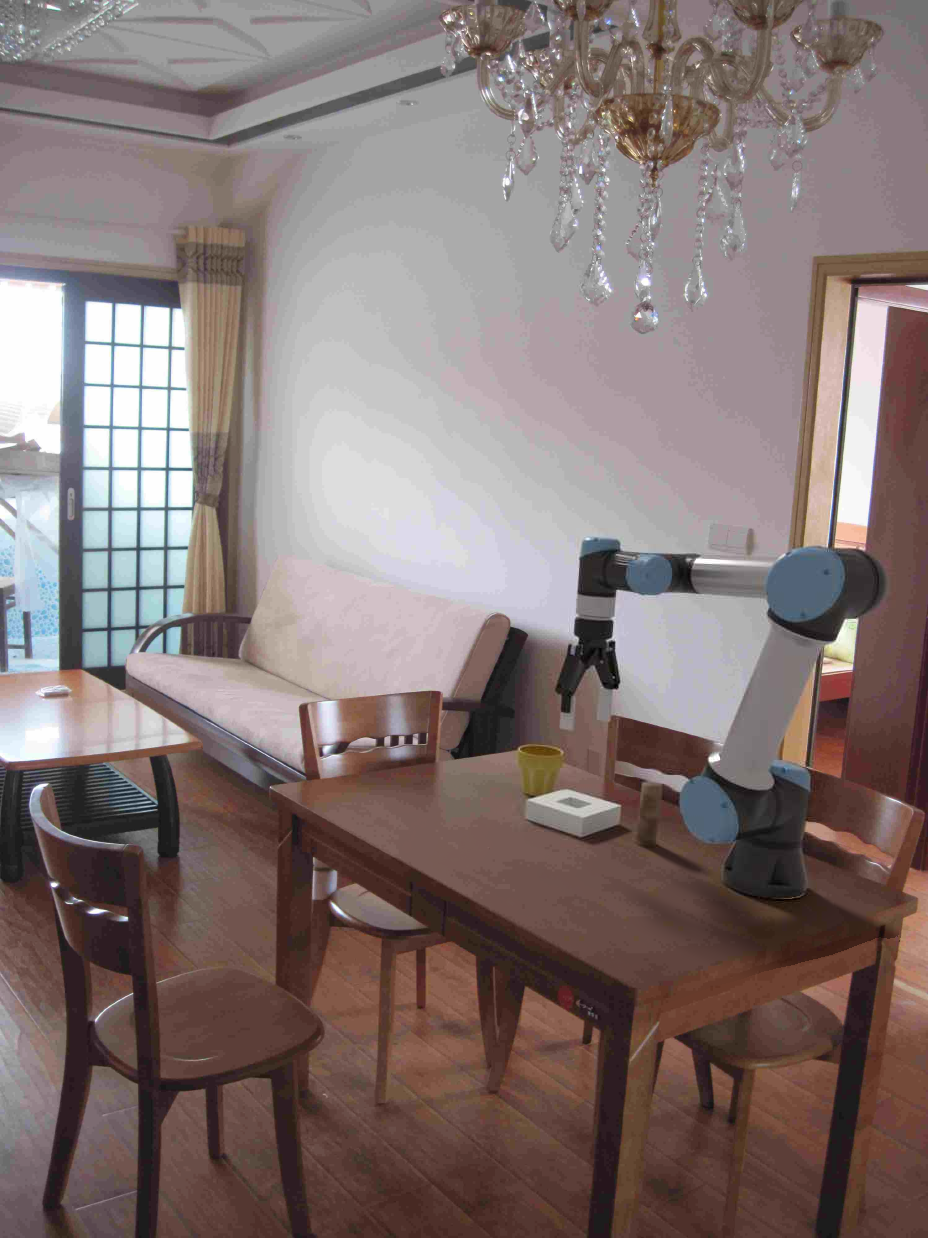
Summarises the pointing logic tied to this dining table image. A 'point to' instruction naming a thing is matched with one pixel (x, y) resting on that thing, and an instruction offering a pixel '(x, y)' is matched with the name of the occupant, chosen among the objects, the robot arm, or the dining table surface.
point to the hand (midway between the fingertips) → (585, 725)
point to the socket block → (572, 812)
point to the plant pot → (539, 768)
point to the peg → (649, 814)
